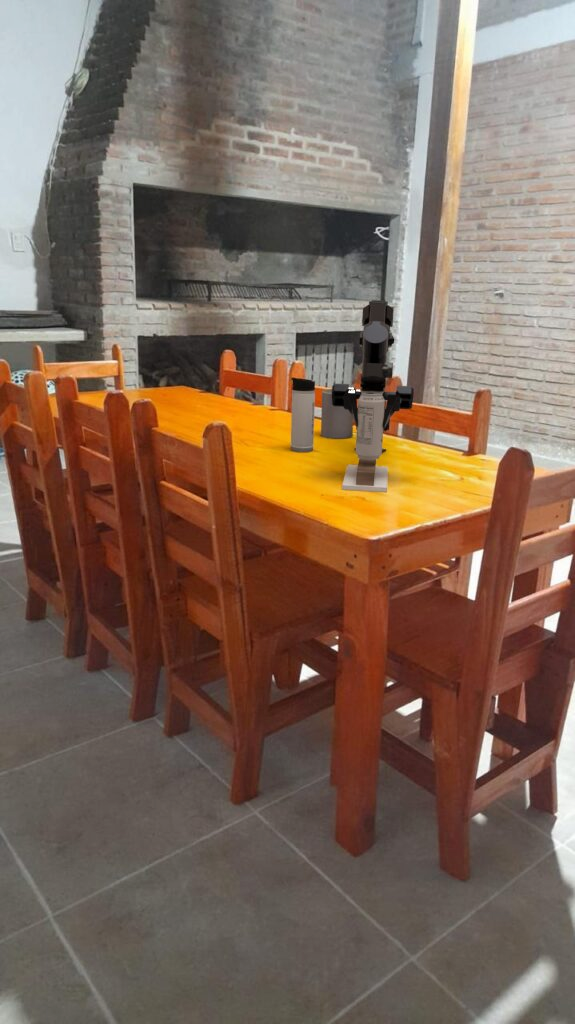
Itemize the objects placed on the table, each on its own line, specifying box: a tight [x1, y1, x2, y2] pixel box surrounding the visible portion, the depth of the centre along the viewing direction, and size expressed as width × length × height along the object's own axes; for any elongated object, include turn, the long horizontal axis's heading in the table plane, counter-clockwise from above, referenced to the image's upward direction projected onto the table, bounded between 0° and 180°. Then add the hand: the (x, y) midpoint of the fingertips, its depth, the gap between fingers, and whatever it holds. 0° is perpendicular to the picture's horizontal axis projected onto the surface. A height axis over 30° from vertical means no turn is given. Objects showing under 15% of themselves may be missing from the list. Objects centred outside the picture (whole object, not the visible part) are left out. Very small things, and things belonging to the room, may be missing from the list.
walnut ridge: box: [356, 458, 377, 486], centre depth 170 cm, size 18×4×3 cm, turn 172°
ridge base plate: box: [341, 464, 389, 493], centre depth 170 cm, size 20×10×1 cm, turn 172°
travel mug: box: [290, 377, 316, 453], centre depth 197 cm, size 6×7×20 cm
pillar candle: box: [320, 388, 354, 440], centre depth 218 cm, size 10×10×15 cm
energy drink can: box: [355, 391, 386, 461], centre depth 165 cm, size 6×6×15 cm
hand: (370, 426), depth 164 cm, fingers closed on energy drink can, 6 cm apart
